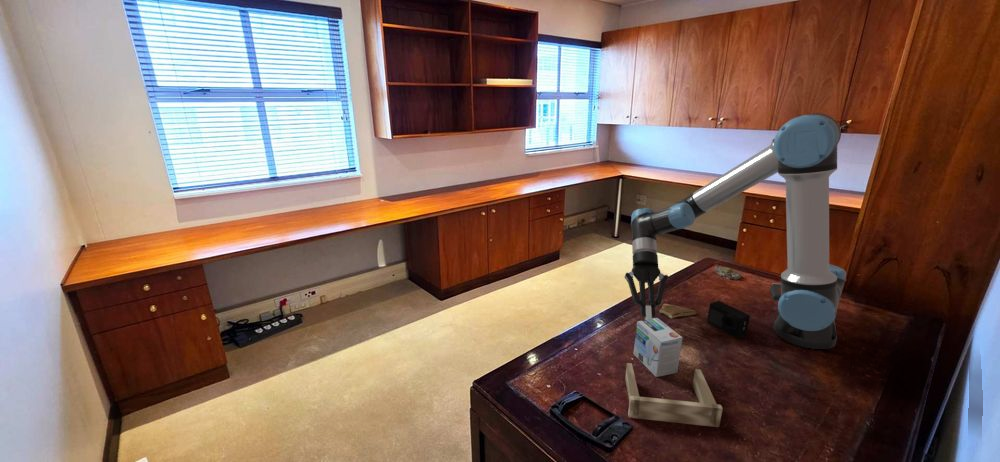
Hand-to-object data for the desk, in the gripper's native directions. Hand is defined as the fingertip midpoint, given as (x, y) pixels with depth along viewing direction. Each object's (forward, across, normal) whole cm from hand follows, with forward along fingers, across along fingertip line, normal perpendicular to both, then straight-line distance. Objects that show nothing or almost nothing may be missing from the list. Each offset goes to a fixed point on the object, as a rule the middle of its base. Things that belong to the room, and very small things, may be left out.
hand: (648, 328), depth 118 cm
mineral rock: (-33, -39, -40) cm, 65 cm away
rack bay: (+21, 0, +15) cm, 25 cm away
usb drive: (-23, -52, -29) cm, 63 cm away
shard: (-10, -12, -17) cm, 23 cm away
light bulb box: (+11, 0, +5) cm, 12 cm away
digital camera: (-4, -24, -10) cm, 26 cm away
